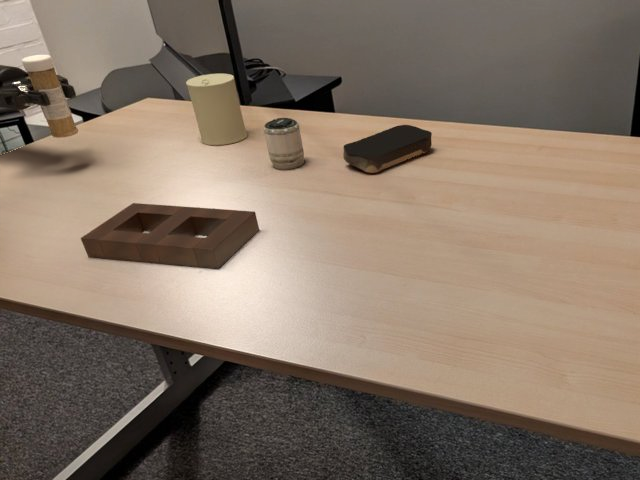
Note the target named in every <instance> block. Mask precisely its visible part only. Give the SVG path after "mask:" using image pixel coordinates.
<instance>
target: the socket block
mask: <svg viewBox="0 0 640 480" xmlns="http://www.w3.org/2000/svg"><path fill="white" fill-rule="evenodd" d="M144 231H147V232H144ZM259 231H260V226H259V222H258V217H257V214H256V211H254V210H252V211H250V210H240V209H239V210H237V209H226V208H225V209H224V208H211V207H209V208H208V207H197V206H196V207H195V206H194V207H193V206H182V205H181V206H180V205H169V204H155V203H140V202H139V203H137V202H133V203H131V204H129V205H128V206H126V207H125V208H123V209H122V210H120V211H119V212H117V213H116V214H114V215H113V216H111V217H109V218H108V219H107V220H106V221H104V222H102V223H101V224H100V225H97V226H96V227H94V228H93V229H92V230H90V231H89V232H87V233H86V234H84V235H83V236H81V237H80V240H81V243H82V245H83V248H84V251H85V253H86V255H87V257H88V258H96V259H98V258H99V259H108V260H118V261H129V262H138V263H139V262H140V263H151V264H161V265H173V266H183V267H192V268H193V267H194V268H205V269H206V268H208V269H216V270H217V269H220V268H221V267H222V266H223V265H224V264H225V263H226V262H227V261H229V259H231V257H232V256H234V255H235V254H236V253H237V252H238V251H239V250H240V249H241V248H242V247H243V246H244V245H245V244H246V243H248V241H249V240H250V239H252V238H253V236H255V235H256V234H257V232H259ZM196 235H200V237H199V236H196ZM201 236H206V237H201Z"/></svg>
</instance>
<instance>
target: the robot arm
mask: <svg viewBox="0 0 640 480" xmlns="http://www.w3.org/2000/svg"><path fill="white" fill-rule="evenodd" d="M56 75H57V77H58V80H59V82H60V85H61V87H62V89H63V92H64V95H65V97H66V99H70V100H72V99H76V98H77V96H76V95H77V93H76V90H75V88H74V86H73V85H72V84H69V80H68V78H66V77H65V76H62V75H60V74H56ZM40 105H41V106H49V105H51V103H50V101H49V98H48V95H47V94H46V93H45V92H40V91H35V90H34V88H33V85H32V83H31V80H30V78H29V75H28V73H27V71H26V70H25V69H22V68H19V67H17V66H12V65H11V66H10V65H4V64H0V109H1V108H2V109H8V110H13V111H23V110H27V109H29V108H31V107H35V106H40ZM41 106H40V107H41Z"/></svg>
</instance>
